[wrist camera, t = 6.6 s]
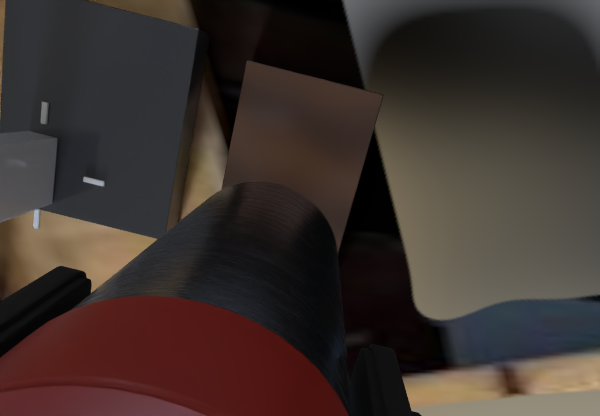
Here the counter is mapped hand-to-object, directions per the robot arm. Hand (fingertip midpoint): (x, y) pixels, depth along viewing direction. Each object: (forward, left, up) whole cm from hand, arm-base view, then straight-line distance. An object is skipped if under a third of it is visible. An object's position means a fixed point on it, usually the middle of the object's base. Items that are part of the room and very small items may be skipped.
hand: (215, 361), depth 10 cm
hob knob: (+2, -16, -17) cm, 24 cm away
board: (0, 0, -20) cm, 20 cm away
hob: (-2, -13, -20) cm, 24 cm away
